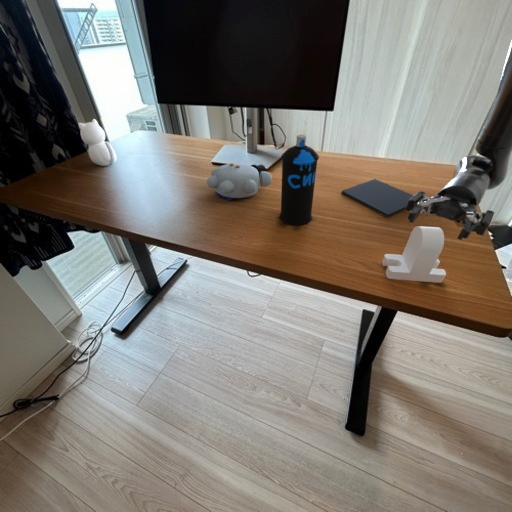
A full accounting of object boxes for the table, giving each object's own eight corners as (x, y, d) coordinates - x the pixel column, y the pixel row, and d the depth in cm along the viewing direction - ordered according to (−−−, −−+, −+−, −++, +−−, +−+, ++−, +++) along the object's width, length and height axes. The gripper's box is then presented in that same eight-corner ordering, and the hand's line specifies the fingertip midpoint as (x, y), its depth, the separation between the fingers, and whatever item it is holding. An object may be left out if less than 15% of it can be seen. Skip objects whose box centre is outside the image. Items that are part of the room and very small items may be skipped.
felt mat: (421, 201, 73) (422, 199, 73) (387, 217, 68) (388, 214, 67) (374, 181, 84) (374, 178, 83) (341, 193, 79) (341, 190, 78)
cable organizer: (442, 282, 50) (468, 240, 44) (387, 278, 52) (403, 236, 45) (433, 264, 54) (455, 222, 48) (381, 260, 56) (396, 219, 49)
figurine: (237, 210, 72) (282, 191, 84) (236, 179, 67) (285, 163, 79) (196, 192, 81) (243, 177, 93) (194, 163, 76) (243, 151, 88)
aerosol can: (275, 212, 72) (276, 133, 59) (303, 206, 73) (310, 128, 60) (287, 228, 66) (291, 144, 53) (317, 222, 67) (328, 139, 54)
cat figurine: (106, 157, 109) (90, 116, 99) (128, 161, 104) (113, 119, 94) (86, 165, 103) (67, 122, 93) (108, 170, 98) (91, 126, 88)
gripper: (432, 170, 61) (403, 196, 52) (510, 189, 53) (491, 223, 44) (420, 200, 65) (392, 228, 57) (490, 221, 58) (469, 258, 49)
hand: (435, 226), depth 51 cm, fingers open, 8 cm apart
